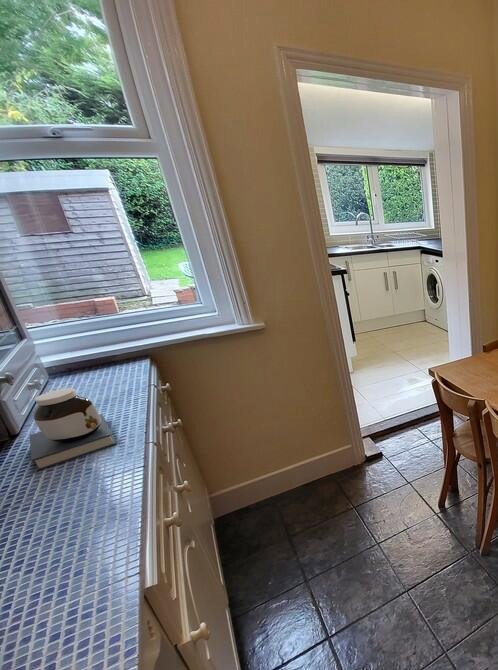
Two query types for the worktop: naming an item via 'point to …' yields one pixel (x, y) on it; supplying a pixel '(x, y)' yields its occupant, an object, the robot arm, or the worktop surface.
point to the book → (68, 447)
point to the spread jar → (66, 416)
